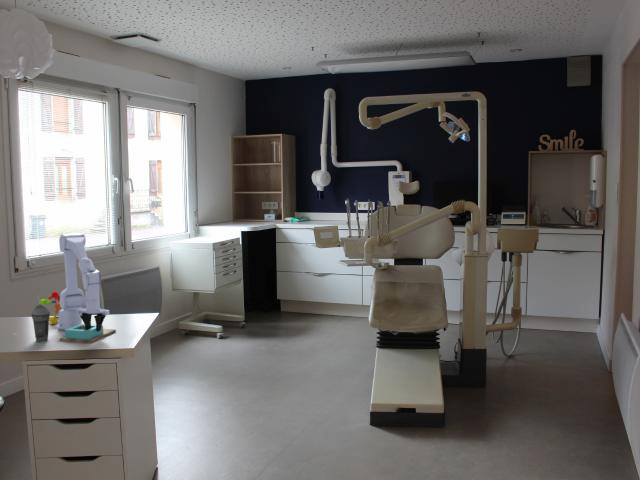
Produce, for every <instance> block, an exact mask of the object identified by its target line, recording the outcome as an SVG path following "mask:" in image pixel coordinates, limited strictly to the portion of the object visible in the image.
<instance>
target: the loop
mask: <svg viewBox="0 0 640 480" xmlns="http://www.w3.org/2000/svg"><path fill="white" fill-rule="evenodd" d="M81 325H85V324H84V323H82V324H79V325H76V326H74V327H71V328H69V329H66V330H64V332H65V335H64V336H66V338H73V339H86V340H89V339H91V338H93V337H96V336H98V335H100V334H103V329H104V325H103V324H102V327H101V331H99V332H97V330H96V324H91V329H88V330H82V327H81Z"/></svg>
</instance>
